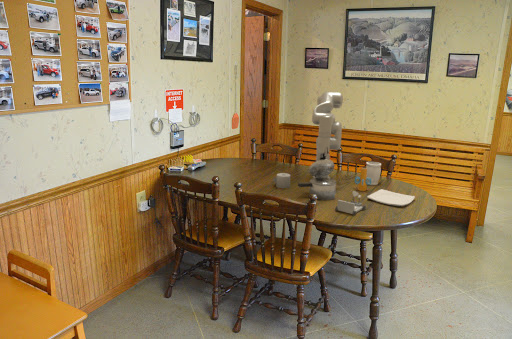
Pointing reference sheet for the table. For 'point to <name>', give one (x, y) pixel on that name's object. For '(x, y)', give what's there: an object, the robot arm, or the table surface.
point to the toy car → (350, 205)
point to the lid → (321, 168)
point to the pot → (321, 187)
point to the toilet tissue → (282, 180)
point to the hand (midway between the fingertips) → (322, 163)
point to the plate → (391, 198)
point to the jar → (373, 172)
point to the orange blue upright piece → (363, 180)
